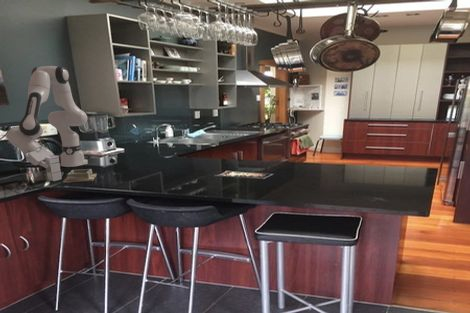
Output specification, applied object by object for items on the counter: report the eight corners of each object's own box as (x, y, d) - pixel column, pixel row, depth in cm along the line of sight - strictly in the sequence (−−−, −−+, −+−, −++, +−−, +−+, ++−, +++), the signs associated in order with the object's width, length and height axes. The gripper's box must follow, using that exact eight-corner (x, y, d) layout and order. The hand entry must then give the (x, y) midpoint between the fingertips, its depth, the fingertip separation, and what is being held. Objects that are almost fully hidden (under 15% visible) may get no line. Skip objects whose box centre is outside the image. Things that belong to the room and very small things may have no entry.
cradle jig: (69, 176, 204) (68, 169, 203) (96, 175, 207) (96, 168, 206) (63, 182, 191) (62, 175, 190) (92, 180, 194) (91, 173, 193)
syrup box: (62, 179, 199) (59, 155, 196) (52, 181, 194) (49, 157, 191) (56, 178, 202) (53, 154, 199) (47, 180, 197) (43, 156, 194)
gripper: (26, 149, 183) (46, 165, 185) (44, 143, 203) (62, 158, 205) (18, 157, 183) (39, 173, 186) (37, 150, 203) (55, 165, 206)
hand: (51, 165), depth 196 cm, fingers open, 8 cm apart
